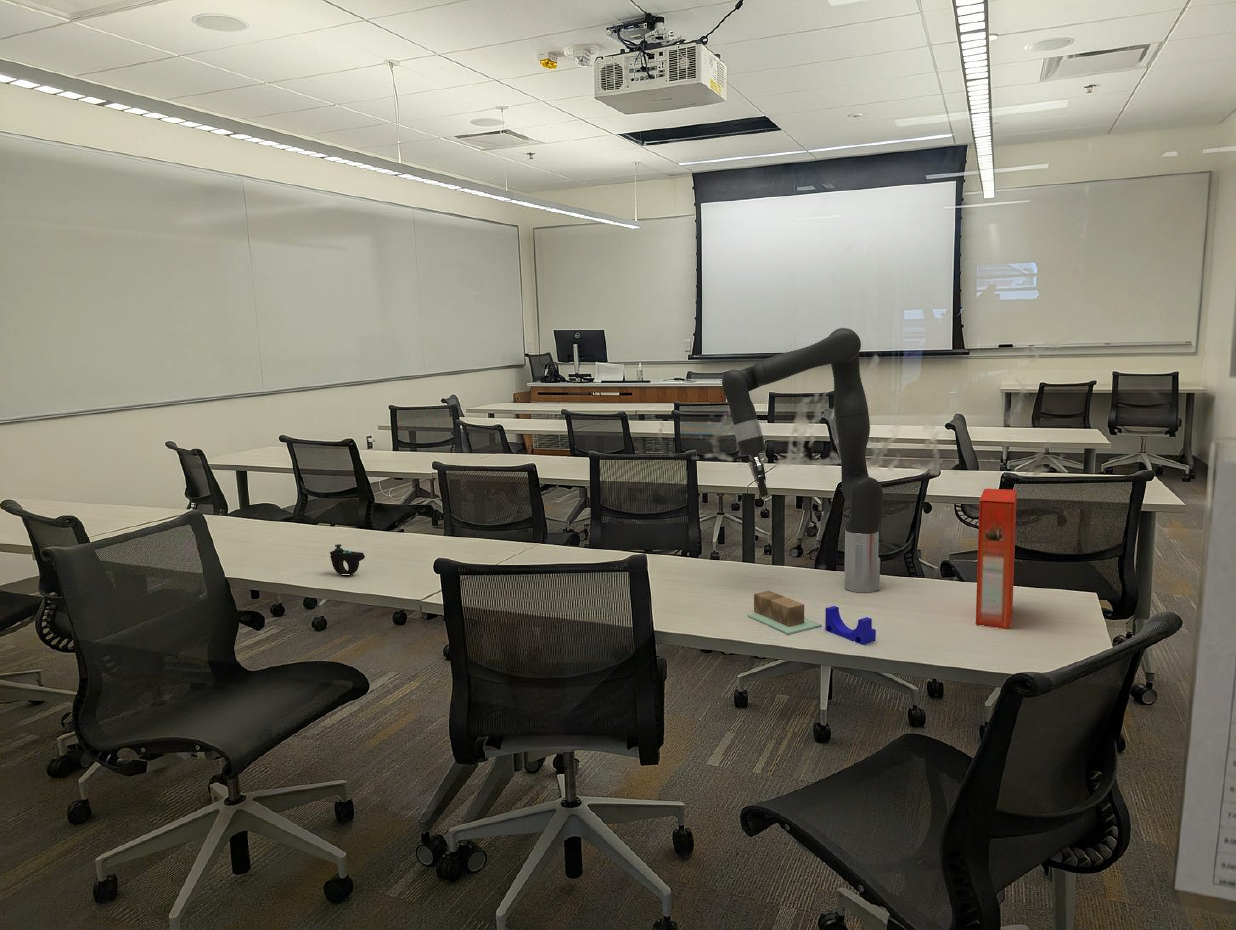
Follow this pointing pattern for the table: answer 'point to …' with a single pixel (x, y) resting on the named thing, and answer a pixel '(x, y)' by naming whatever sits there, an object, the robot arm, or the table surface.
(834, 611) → the blue cradle block
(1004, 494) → the file binder
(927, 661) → the table surface
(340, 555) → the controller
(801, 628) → the sage mat
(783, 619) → the walnut block
